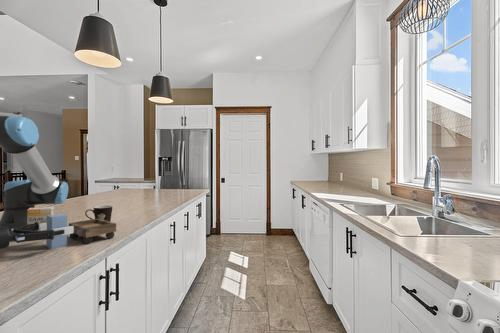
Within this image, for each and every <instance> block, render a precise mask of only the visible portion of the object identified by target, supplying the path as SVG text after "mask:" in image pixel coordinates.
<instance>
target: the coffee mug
mask: <svg viewBox="0 0 500 333" xmlns="http://www.w3.org/2000/svg"><path fill="white" fill-rule="evenodd" d="M89 211H91V212H92V213H93V215H94V219H101V220H105V221H109V222H112V220H111V219H112V213H113V205H106V204H105V205H104V204H103V205H95V206H93V209H87V210H85V217H87V218H88V220H92V219H93V218H92V217H90V216H89V215H88V214H87V212H89Z"/></svg>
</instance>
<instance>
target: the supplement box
mask: <svg viewBox="0 0 500 333" xmlns="http://www.w3.org/2000/svg"><path fill="white" fill-rule="evenodd" d="M54 210H55V207H54V206H50V207H49V206H47V207H45V206H43V207H35V208H29V209H28V211H27V225H29V224H34V222H38V225H39V224H41V223H47V215H55V214H54ZM37 231H39V229H38V230H37ZM42 231H45V230H42Z"/></svg>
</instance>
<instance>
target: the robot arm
mask: <svg viewBox="0 0 500 333" xmlns="http://www.w3.org/2000/svg"><path fill="white" fill-rule="evenodd" d="M39 138H40V133H39V129H38V126H37V125H36V124H35V122H34V121H33V120H32V119H30V118H28V117H25V116H19V115H0V148H1V149H2V151H3V152H4V153H6V154H8V155H9V154H10V155H11V156H12V157H13V158H14V160H15V162H16V163H17V165H19V167H20V169H21V170H22V171H23V173H24V174H25V176H26V177H27V179H23V180H22V179H21V180H12V181H7V182H5V184H4V187H3V213H2V215H1V217H0V250H2V249H6V248H8V247H9V246H10V243H11V242H15V243H16V244H17V243H18V244H19V243H25V242H35V241H44V240H45V241H47V239H51V240H53V239H54V237H56V236H61V235H66V234H67V235H70V234H72V233H74V226H69V225H68V226H67V227H63V228H57V229H53V230H47V223H41V224H39V225H38V222H34V224H29V225H27V211H28V209H29V208H36V207H35V206H36V205H62V204H63V203H65V202H66V200H67V198H68V194H69V185H68V182H66V181H60V179H59V178H58V176H56V175H53V174H52V172H51V171H50V169H49V168H48V165H47V164H46V162H45V160H44V159H43V157H42V155H41V154H40V152H39V150H38V149H37V147H36V146H37V143H38V142H39ZM38 229H39V231H37V230H38ZM42 230H45V231H42Z"/></svg>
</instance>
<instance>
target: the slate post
mask: <svg viewBox="0 0 500 333" xmlns="http://www.w3.org/2000/svg"><path fill="white" fill-rule="evenodd" d="M63 227H68V215H67V214H64V213H58V214H57V213H55V214H54V215H47V230H53V229H57V228H63ZM66 245H67V246H68V234H66V235H61V236H56V237H54V239H53V240H51V239H46V247H47V248H49V249H51V250H54V249H57V248H63V247H67V246H66ZM62 246H63V247H62ZM53 248H54V249H53Z"/></svg>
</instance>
